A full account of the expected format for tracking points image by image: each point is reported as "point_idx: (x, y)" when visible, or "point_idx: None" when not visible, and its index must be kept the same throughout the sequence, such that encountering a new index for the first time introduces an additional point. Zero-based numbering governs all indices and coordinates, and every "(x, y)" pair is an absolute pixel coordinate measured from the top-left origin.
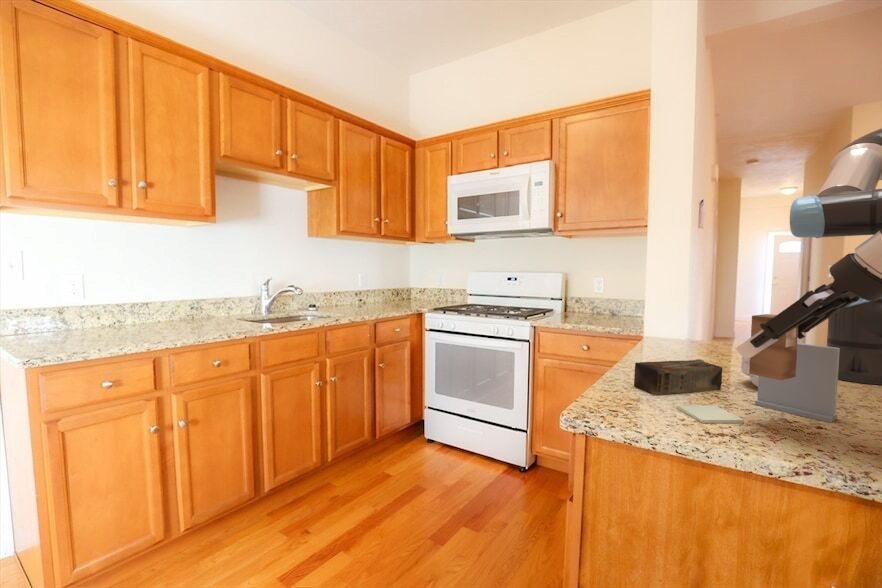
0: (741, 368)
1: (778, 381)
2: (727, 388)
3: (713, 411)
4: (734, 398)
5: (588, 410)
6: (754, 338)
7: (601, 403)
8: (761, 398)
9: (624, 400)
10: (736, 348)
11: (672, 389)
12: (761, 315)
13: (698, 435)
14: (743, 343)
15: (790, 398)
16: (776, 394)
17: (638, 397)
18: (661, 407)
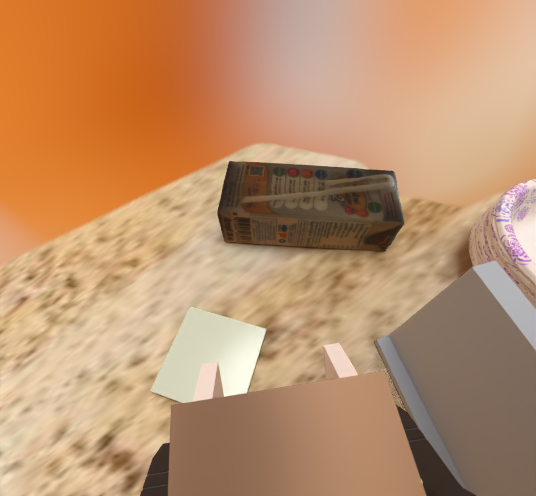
0: (482, 215)
1: (434, 362)
2: (406, 249)
3: (226, 357)
4: (365, 298)
5: (34, 269)
6: (148, 477)
7: (91, 248)
8: (394, 341)
9: (144, 247)
10: (201, 368)
11: (261, 240)
12: (257, 423)
13: (72, 446)
14: (196, 393)
15: (431, 397)
16: (416, 366)
17: (183, 242)
18: (170, 295)
